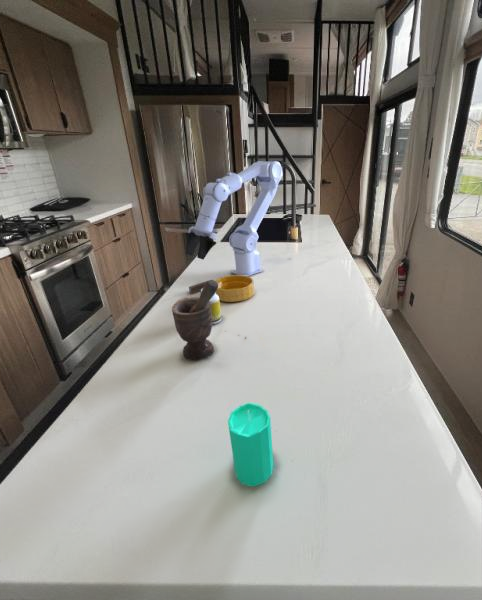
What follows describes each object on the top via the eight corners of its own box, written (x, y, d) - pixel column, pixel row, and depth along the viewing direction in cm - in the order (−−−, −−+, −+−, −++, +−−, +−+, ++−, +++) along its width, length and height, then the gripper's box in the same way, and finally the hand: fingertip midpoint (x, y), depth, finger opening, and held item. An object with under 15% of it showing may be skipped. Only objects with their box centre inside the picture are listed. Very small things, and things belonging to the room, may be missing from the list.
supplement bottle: (224, 316, 96) (220, 285, 92) (218, 325, 91) (214, 293, 87) (206, 315, 96) (201, 285, 92) (200, 324, 91) (195, 293, 87)
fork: (227, 279, 122) (227, 274, 121) (230, 281, 120) (230, 275, 119) (189, 292, 112) (188, 286, 111) (192, 294, 111) (191, 288, 110)
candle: (236, 453, 53) (228, 397, 48) (272, 450, 53) (269, 394, 48) (233, 488, 48) (224, 429, 42) (274, 484, 48) (270, 425, 43)
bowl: (239, 283, 118) (238, 272, 116) (262, 294, 109) (261, 281, 107) (207, 294, 110) (205, 282, 108) (229, 307, 101) (228, 294, 99)
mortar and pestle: (232, 343, 83) (223, 269, 74) (225, 363, 75) (215, 284, 66) (187, 343, 83) (174, 270, 74) (176, 363, 75) (159, 284, 67)
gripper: (186, 211, 110) (173, 249, 111) (208, 215, 100) (195, 257, 101) (203, 219, 115) (191, 255, 116) (226, 223, 106) (213, 263, 106)
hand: (194, 256), depth 109 cm, fingers open, 7 cm apart
